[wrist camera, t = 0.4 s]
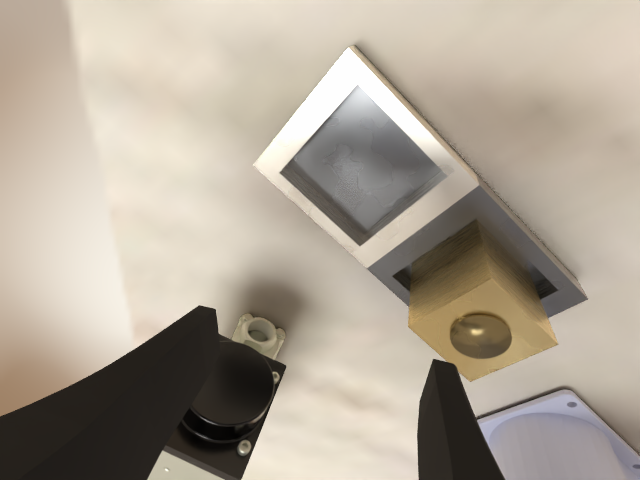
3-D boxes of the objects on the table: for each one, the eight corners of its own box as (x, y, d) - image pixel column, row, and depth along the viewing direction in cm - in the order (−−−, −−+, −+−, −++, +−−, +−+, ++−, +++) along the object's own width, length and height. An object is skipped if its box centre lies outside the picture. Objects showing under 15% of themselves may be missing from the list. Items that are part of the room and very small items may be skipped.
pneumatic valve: (316, 295, 24) (237, 496, 14) (267, 390, 30) (190, 573, 20) (238, 259, 24) (104, 434, 14) (206, 362, 30) (99, 530, 20)
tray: (577, 279, 19) (588, 299, 18) (462, 337, 23) (464, 357, 21) (354, 44, 16) (348, 47, 15) (264, 155, 20) (252, 165, 18)
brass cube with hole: (529, 273, 19) (559, 348, 15) (461, 310, 21) (470, 385, 17) (476, 219, 18) (492, 281, 14) (411, 263, 21) (407, 330, 16)
